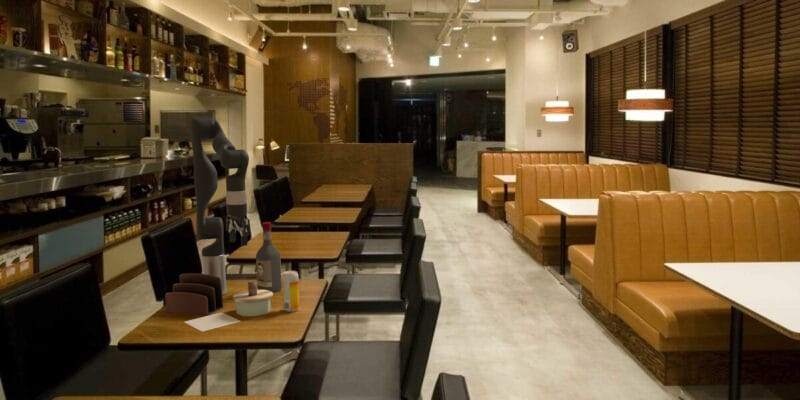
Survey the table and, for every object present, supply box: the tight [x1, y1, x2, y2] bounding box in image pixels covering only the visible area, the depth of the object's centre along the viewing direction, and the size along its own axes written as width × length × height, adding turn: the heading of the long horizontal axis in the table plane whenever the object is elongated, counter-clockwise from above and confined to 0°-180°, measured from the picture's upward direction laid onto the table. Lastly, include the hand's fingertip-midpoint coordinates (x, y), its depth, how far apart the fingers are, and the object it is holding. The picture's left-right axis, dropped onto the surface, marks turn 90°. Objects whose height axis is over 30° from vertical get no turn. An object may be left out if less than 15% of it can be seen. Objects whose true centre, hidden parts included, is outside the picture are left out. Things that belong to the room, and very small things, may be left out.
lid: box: [232, 280, 274, 303], centre depth 229 cm, size 15×15×6 cm
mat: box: [184, 312, 242, 332], centre depth 218 cm, size 15×15×1 cm
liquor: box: [255, 221, 283, 294], centre depth 259 cm, size 9×9×30 cm
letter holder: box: [164, 273, 225, 316], centre depth 233 cm, size 10×20×14 cm, turn 70°
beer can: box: [281, 270, 301, 313], centre depth 232 cm, size 6×6×15 cm
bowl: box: [235, 298, 272, 317], centre depth 230 cm, size 12×12×6 cm
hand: (238, 243), depth 230 cm, fingers open, 8 cm apart
